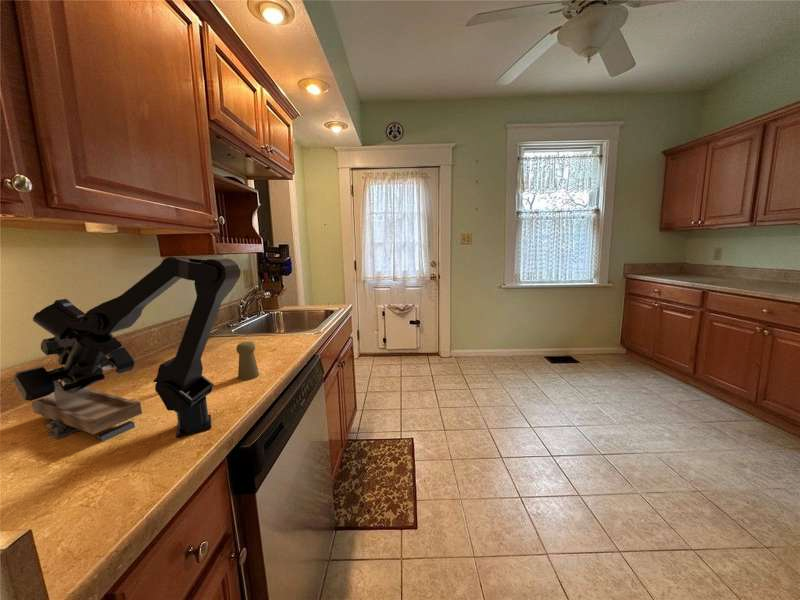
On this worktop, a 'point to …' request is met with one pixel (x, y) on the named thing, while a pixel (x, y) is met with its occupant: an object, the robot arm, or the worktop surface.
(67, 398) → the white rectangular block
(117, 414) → the wooden serving tray
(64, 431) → the pivot stand
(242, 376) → the cork
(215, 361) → the worktop surface
